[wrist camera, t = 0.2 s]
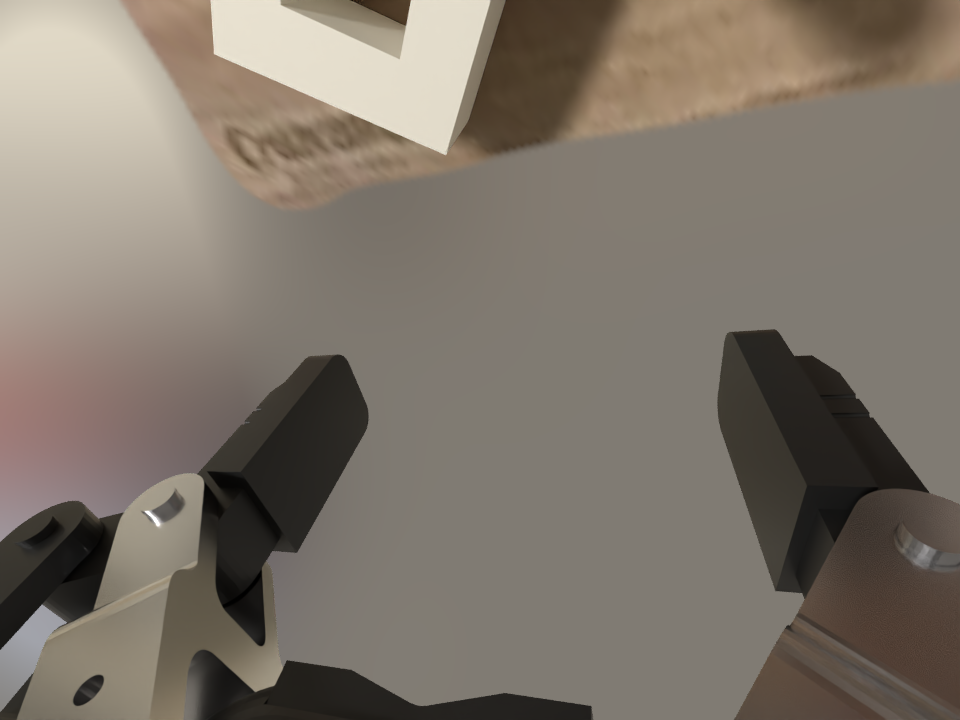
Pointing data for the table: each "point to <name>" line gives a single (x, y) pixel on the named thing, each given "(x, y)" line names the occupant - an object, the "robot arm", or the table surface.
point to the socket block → (369, 57)
